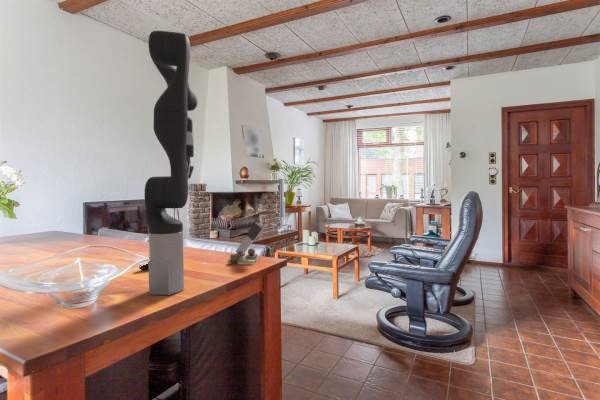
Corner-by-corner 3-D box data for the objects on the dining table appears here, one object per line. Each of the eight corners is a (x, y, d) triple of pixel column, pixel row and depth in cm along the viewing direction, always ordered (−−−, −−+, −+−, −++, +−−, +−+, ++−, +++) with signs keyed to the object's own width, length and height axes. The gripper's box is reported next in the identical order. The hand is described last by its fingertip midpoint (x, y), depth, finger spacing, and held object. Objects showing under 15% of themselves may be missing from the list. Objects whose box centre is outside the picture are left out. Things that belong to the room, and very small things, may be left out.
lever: (238, 261, 134) (261, 229, 132) (230, 255, 134) (254, 223, 132) (242, 257, 140) (265, 227, 138) (235, 252, 140) (258, 221, 138)
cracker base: (253, 264, 131) (253, 251, 131) (227, 264, 132) (227, 250, 132) (259, 258, 141) (259, 246, 141) (235, 258, 142) (235, 245, 142)
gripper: (184, 142, 124) (185, 190, 125) (199, 146, 137) (200, 189, 138) (165, 142, 125) (165, 190, 126) (182, 146, 138) (182, 189, 139)
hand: (183, 189), depth 132 cm, fingers closed
